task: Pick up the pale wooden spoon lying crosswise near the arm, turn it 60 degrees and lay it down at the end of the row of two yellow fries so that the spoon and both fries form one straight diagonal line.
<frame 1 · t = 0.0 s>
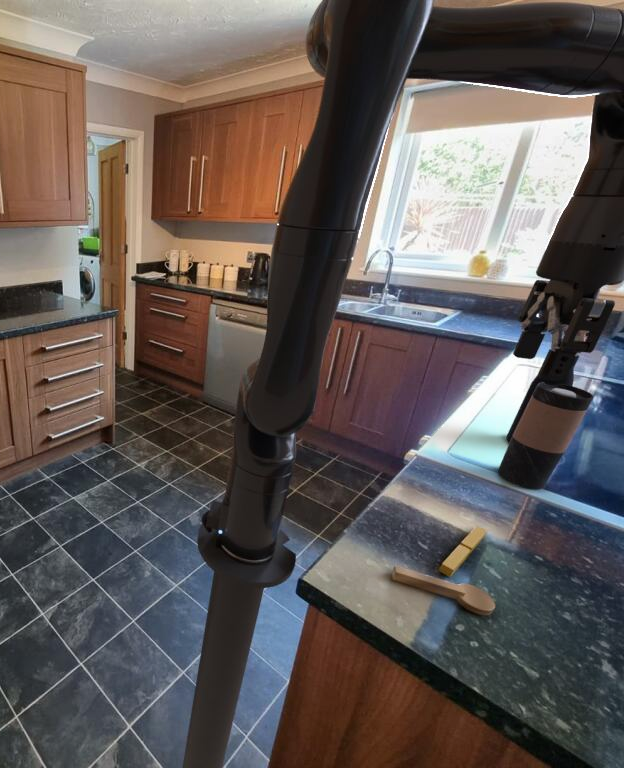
hand: (535, 367, 56), 31 cm above the countertop, tool pointing down, fingers open, 8 cm apart
fry 2: (471, 543, 70), on the countertop
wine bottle: (523, 444, 99), on the countertop
fry 1: (453, 563, 66), on the countertop
travel mug: (519, 479, 86), on the countertop
spoon: (440, 591, 61), on the countertop
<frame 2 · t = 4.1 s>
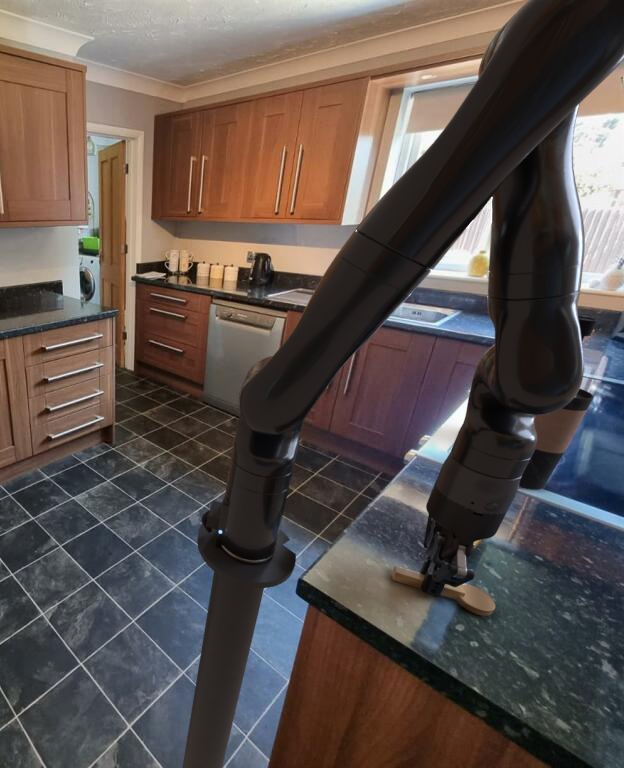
hand: (428, 587, 61), 0 cm above the countertop, tool pointing down, fingers closed on spoon, 1 cm apart
spoon: (440, 591, 61), on the countertop, touching gripper
everything else where it was.
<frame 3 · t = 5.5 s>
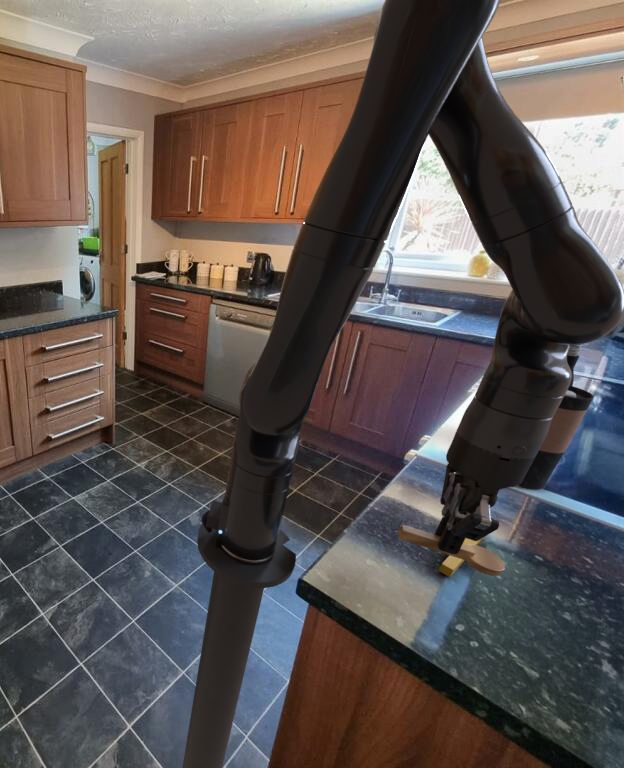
hand: (445, 545, 58), 8 cm above the countertop, tool pointing down, fingers closed on spoon, 1 cm apart
spoon: (447, 551, 58), point 7 cm above the countertop, touching gripper
everything else where it was.
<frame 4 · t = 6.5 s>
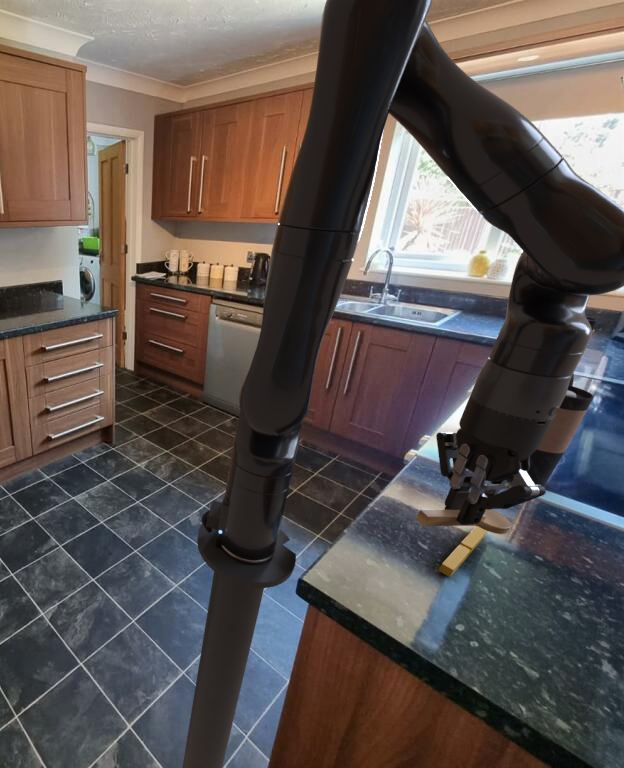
hand: (459, 517, 56), 13 cm above the countertop, tool pointing down, fingers closed on spoon, 1 cm apart
spoon: (460, 522, 57), point 12 cm above the countertop, touching gripper
everything else where it was.
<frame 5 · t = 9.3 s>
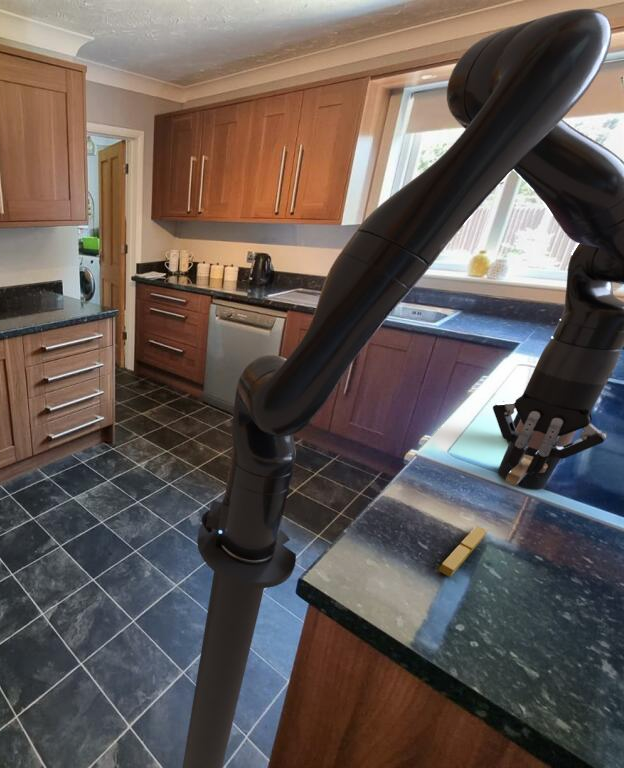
hand: (522, 468, 69), 12 cm above the countertop, tool pointing down, fingers closed on spoon, 1 cm apart
spoon: (521, 472, 70), point 11 cm above the countertop, touching gripper
everything else where it was.
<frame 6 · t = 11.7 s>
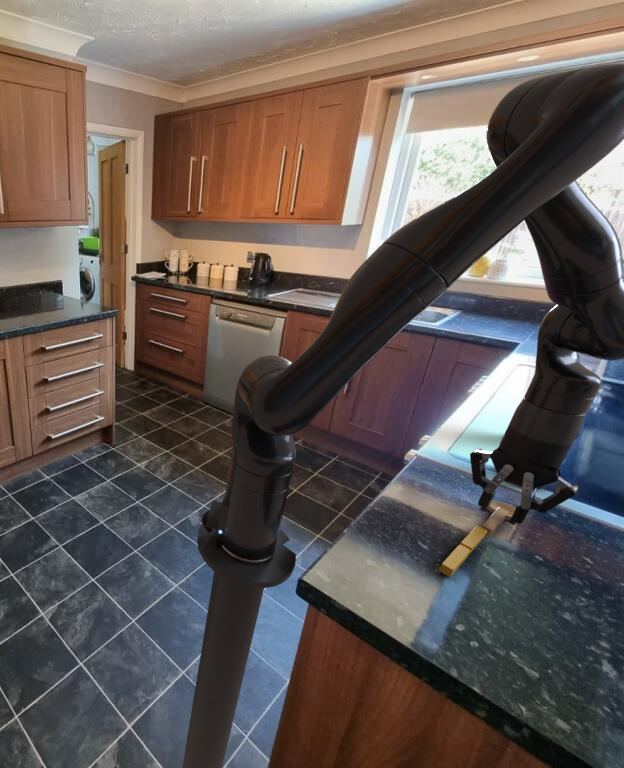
hand: (498, 515, 74), 2 cm above the countertop, tool pointing down, fingers open, 3 cm apart
spoon: (495, 521, 75), on the countertop
everything else where it was.
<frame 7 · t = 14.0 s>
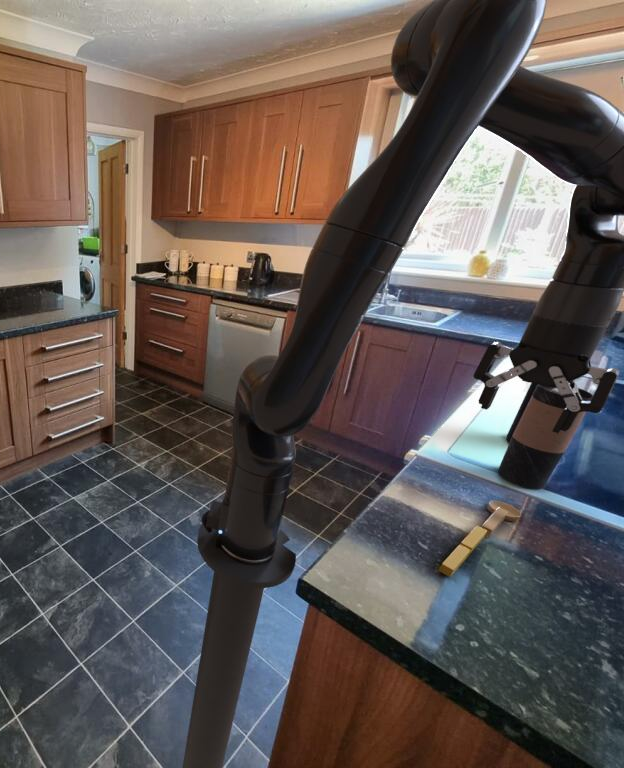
hand: (519, 419, 65), 21 cm above the countertop, tool pointing down, fingers open, 8 cm apart
nothing on the countertop moved.
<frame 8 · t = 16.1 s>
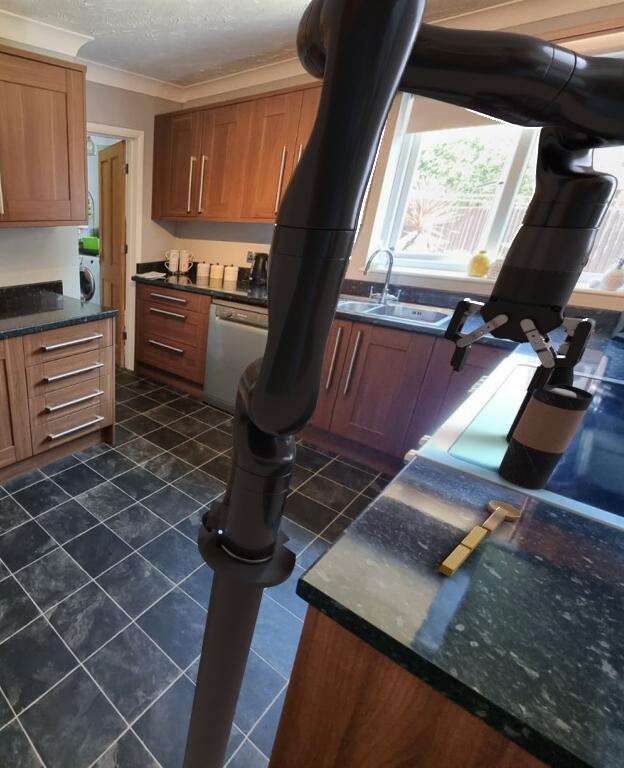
hand: (492, 380, 61), 28 cm above the countertop, tool pointing down, fingers open, 8 cm apart
nothing on the countertop moved.
at the end: spoon 0.6 cm from the target spot on the countertop beside the fry 2, on the countertop; spoon tilted 0°; fry 2 moved 0.0 cm from its start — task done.
